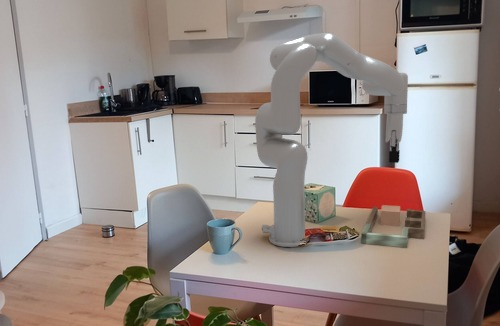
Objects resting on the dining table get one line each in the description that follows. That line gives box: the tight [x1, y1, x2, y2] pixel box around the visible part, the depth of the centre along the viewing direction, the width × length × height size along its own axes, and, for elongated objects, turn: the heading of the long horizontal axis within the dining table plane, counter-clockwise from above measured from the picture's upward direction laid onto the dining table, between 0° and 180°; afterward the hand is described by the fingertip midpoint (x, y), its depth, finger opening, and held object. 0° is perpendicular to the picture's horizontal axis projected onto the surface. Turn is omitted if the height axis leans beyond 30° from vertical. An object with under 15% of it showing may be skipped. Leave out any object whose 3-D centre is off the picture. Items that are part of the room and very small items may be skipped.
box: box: [360, 206, 426, 248], centre depth 157 cm, size 18×30×3 cm, turn 159°
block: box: [380, 204, 401, 227], centre depth 165 cm, size 6×7×5 cm
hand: (394, 161), depth 171 cm, fingers closed
